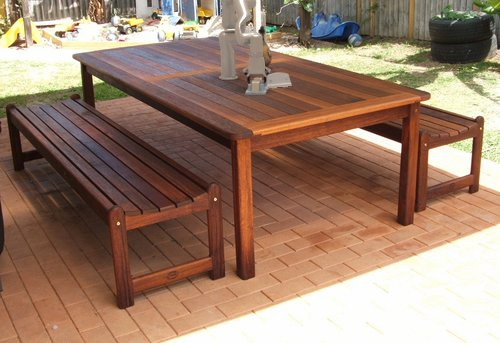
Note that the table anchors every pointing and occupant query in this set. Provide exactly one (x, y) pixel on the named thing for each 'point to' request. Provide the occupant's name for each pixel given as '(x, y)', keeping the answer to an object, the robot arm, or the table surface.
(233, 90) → the table surface
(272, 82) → the white router
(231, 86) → the table surface
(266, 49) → the ceramic jug
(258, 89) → the clay bar
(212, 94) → the table surface
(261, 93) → the rack
